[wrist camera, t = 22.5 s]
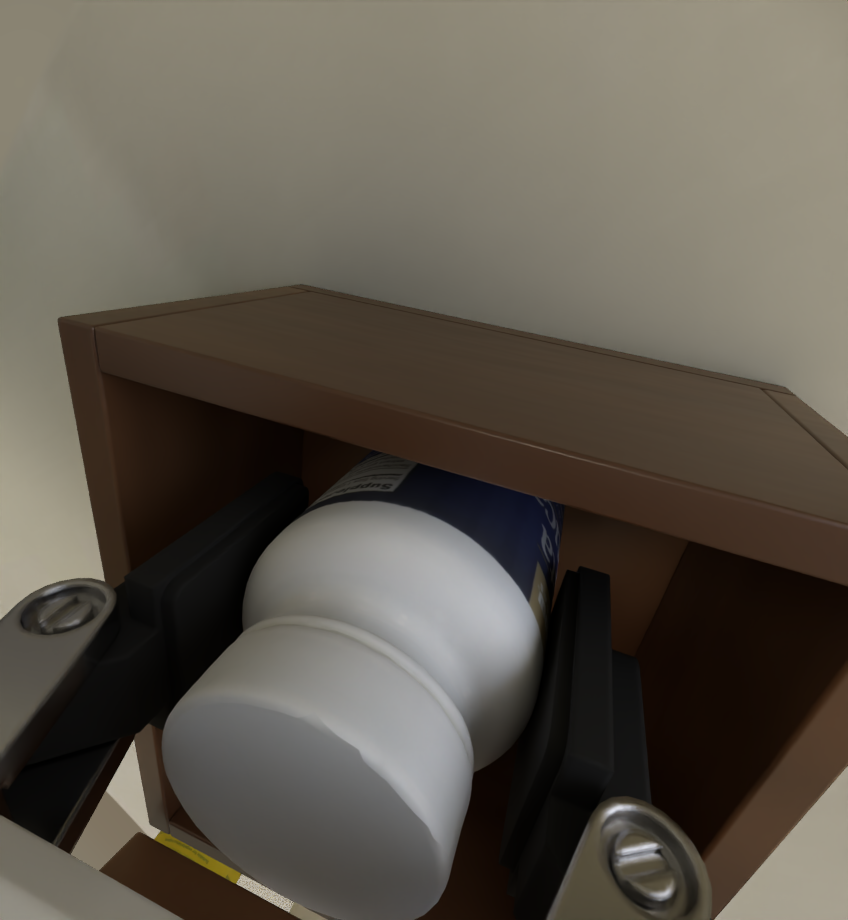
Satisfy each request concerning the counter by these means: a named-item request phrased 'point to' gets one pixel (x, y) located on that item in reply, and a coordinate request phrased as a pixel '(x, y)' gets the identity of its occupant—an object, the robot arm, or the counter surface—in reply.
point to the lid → (185, 884)
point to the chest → (530, 472)
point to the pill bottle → (370, 686)
